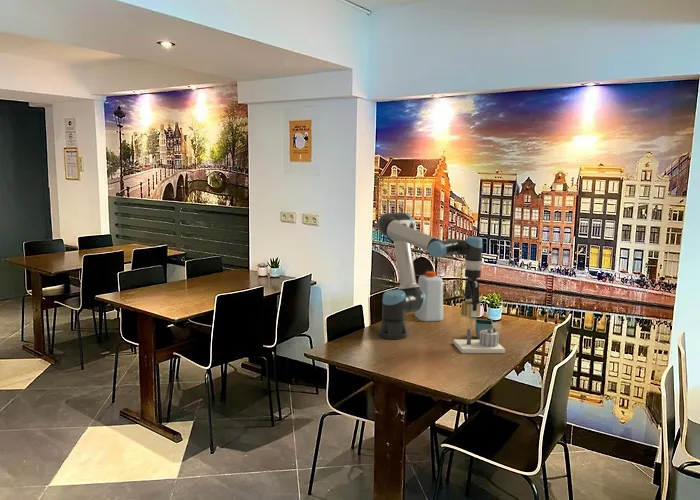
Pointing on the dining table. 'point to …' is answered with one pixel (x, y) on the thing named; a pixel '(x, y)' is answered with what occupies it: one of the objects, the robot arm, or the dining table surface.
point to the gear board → (480, 343)
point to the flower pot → (482, 326)
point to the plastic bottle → (431, 297)
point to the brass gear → (469, 308)
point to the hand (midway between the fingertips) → (470, 314)
